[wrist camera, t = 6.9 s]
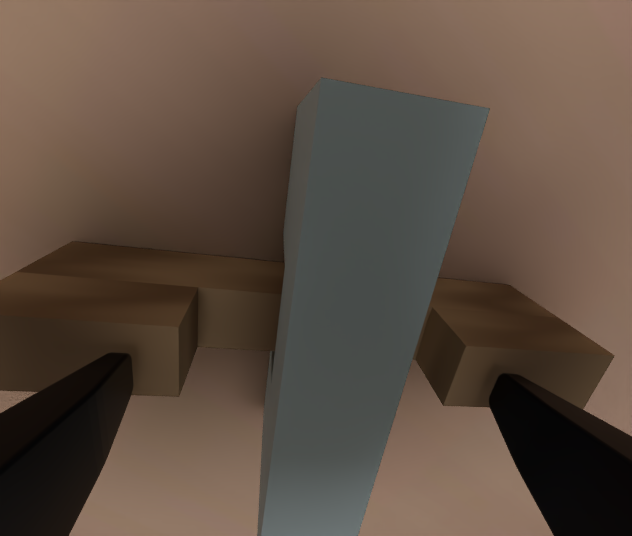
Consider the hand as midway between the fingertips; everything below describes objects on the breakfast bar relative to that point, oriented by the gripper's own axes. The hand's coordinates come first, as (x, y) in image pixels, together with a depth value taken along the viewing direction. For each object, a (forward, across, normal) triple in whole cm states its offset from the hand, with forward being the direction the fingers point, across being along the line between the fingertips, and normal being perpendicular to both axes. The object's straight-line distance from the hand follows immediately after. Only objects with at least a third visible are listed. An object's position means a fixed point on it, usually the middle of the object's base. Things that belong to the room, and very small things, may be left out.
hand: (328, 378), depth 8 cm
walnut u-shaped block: (+5, 0, 0) cm, 5 cm away
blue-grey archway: (+5, 0, 0) cm, 5 cm away
